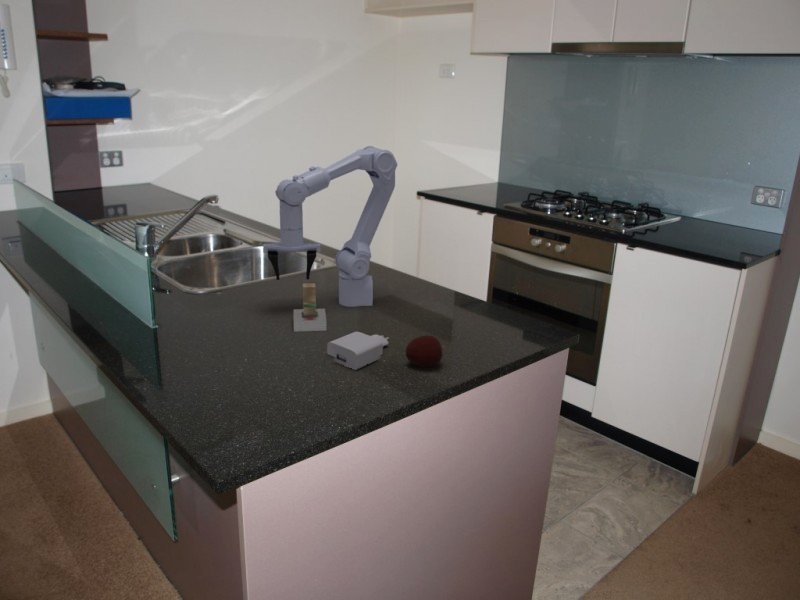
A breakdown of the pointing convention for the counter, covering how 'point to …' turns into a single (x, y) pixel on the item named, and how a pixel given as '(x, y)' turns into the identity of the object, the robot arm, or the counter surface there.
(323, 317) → the stand
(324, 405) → the counter surface
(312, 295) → the post
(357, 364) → the charger
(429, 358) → the potato
